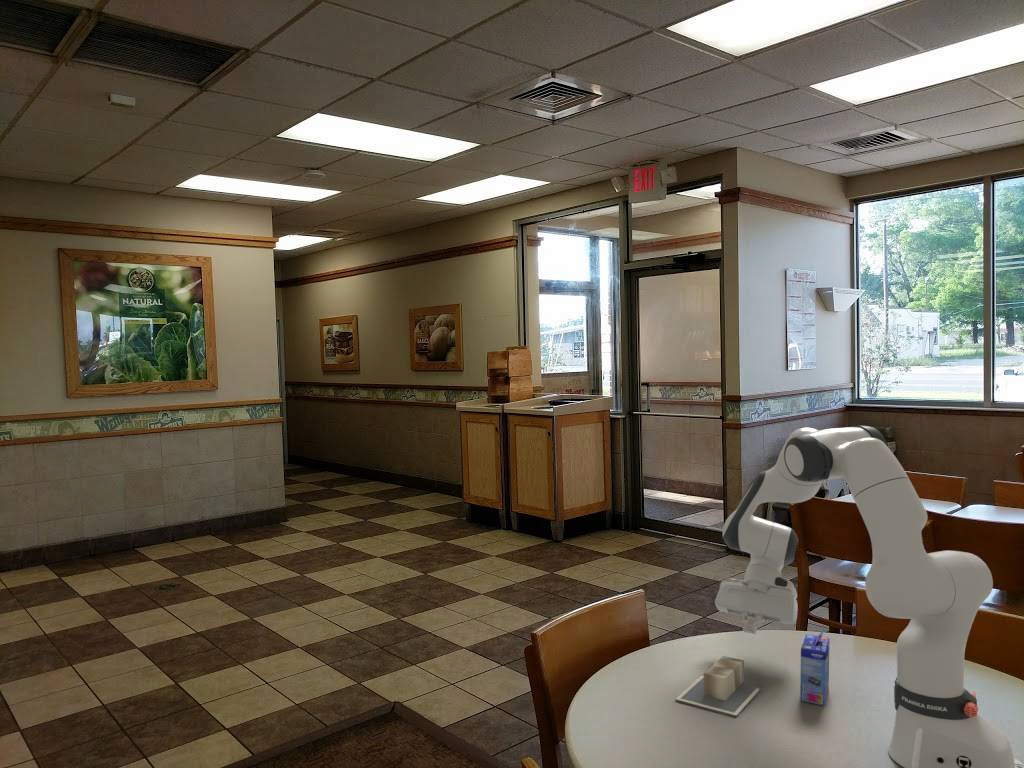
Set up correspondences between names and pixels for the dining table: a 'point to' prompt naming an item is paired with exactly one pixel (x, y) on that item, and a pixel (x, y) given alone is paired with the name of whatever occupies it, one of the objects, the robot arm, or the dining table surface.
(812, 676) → the ink cartridge box
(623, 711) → the dining table surface
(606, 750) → the dining table surface
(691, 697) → the rubber mat
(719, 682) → the birch block
